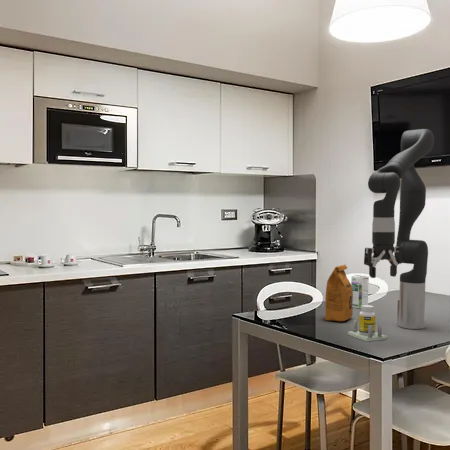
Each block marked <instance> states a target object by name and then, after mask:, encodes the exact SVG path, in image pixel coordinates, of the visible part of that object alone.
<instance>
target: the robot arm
mask: <svg viewBox="0 0 450 450" xmlns="http://www.w3.org/2000/svg"><path fill="white" fill-rule="evenodd" d="M434 144H435V136H434V134H433V132H432V131H431V130H430V129H428V128H420V129H409V130H405V131H404V132H403V133H402V135H401V139H400V152H399V153H397V154H395V155H394V156H393V157H392V158H391V159H389V161H388V162H387V163H386V165H384V166H382V167H380V168H378V169H377V170H375V171H374V172H373V173H372V174H371V175H370V176H369V178H368V181H367V185H368V186H367V187H368V189H369V190H370V192H372V193H373V194H385V196H384V197H383V198H382V199H378V200H375V201H374V202H373V208H372V209H373V210H372V225H371V227H372V231H371V237H372V238H371V243H372V247H365V248H364V257H363V264H364V265H365V266H368V272H369V273H368V275H369V277H370V278H372V279H375V278H377V277H376V276H377V275H376V274H377V268H376V266H377V264H378V263H379V262H380V261H383V260H386V261H388V263H389V264H390V266H389V267H390V269H389V271H390V272H389V275H390V277H394V278H395V277H396V276H397V273H398V265H401V264H407V265H413V266H412V267H413V268H412V269H411V270H409V271H406V272H402V273H400V274H399V299H398V300H397V306H396V307H397V308H396V309H397V314H396V325H398V326H399V327H401V328H404V329H409V330H421V329H422V330H423V329H424V328H425V323H426V322H425V321H426V320H425V318H426V317H425V314H426V306H425V305H426V280H427V279H426V278H427V273H428V259H429V248H428V243H427V242H426V241H425V240H423V239H422V240H421V239H420V240H419V239H411V237H410V236H411V232H412V230H413V229H412V228H413V226H414V224H415V223H416V221H417V220H418V218H419V217H420V216H421V214H422V213H423V211H424V209H425V207H426V206H425V205H426V201H427V200H426V197H427V195H426V194H427V188H426V185H425V183H424V181H423V180H422V178H421V176H420V175H419V173H418V171H417V169H416V167H415V164H416V163H417V162H418V161H419V160H421V159H422V158H423V157H425V156H426V155H428V154H429V153H430V152H431V151H432V150H433V148H434ZM399 191H400V193H399ZM398 194H399V220H398V229H397V237H396V221H395V206H396V202H397V197H398ZM395 239H396V240H395ZM395 244H396V245H395Z"/></svg>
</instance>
